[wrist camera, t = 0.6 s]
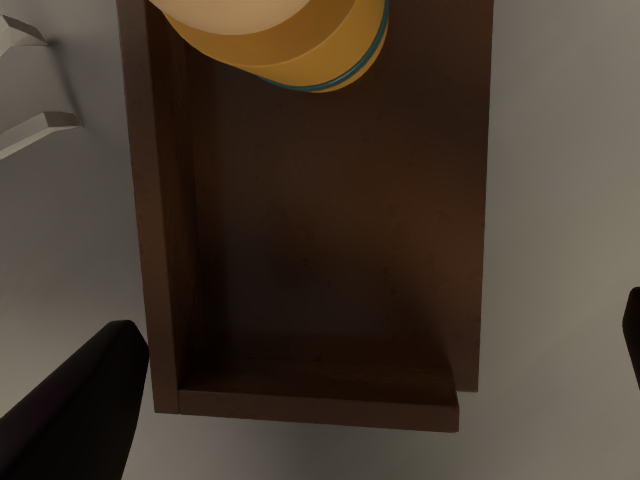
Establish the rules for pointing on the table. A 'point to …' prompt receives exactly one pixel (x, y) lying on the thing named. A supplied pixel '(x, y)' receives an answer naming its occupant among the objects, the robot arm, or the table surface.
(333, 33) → the doll
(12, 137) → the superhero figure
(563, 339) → the table surface
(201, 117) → the wooden desk tray
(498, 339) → the table surface
